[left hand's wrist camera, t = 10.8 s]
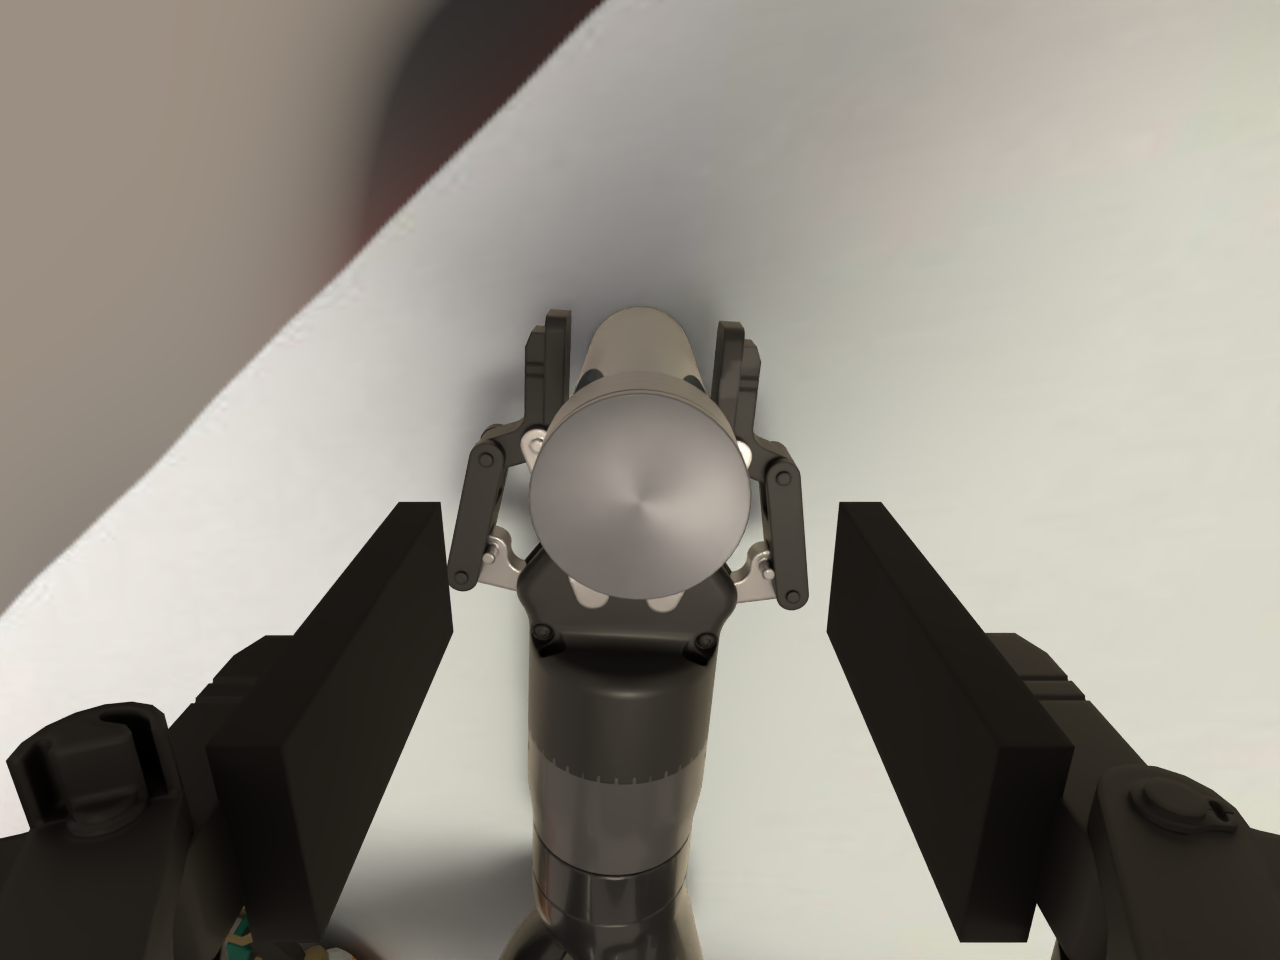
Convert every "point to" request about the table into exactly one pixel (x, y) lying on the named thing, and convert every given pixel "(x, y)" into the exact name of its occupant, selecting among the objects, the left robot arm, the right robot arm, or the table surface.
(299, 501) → the table surface
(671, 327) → the grey cylindrical bottle
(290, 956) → the spray gun
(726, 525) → the lid
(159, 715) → the left robot arm
